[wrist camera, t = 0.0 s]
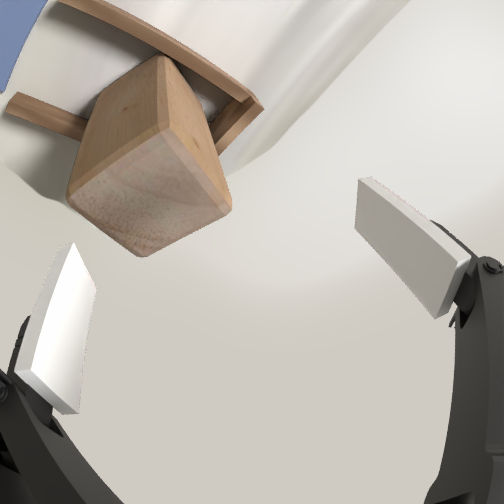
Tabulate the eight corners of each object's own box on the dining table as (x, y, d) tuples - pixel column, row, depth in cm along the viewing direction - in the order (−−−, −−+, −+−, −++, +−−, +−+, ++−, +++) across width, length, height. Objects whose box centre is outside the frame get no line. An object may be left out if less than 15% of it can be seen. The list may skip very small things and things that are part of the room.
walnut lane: (72, -13, 17) (59, -11, 14) (253, 93, 35) (264, 109, 33) (13, 101, 24) (-1, 119, 21) (180, 173, 43) (183, 195, 40)
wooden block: (165, 47, 27) (171, 122, 16) (203, 106, 35) (239, 214, 24) (96, 93, 29) (58, 203, 18) (140, 144, 37) (141, 265, 26)
